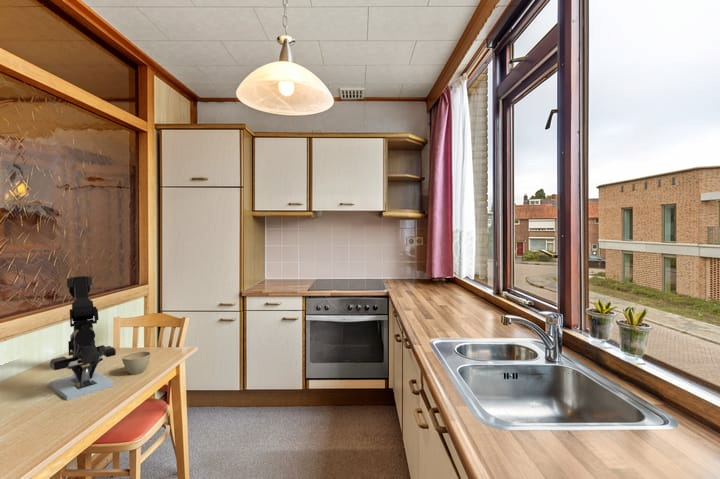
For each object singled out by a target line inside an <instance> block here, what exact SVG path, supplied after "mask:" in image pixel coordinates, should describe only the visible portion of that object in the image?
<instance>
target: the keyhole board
mask: <svg viewBox="0 0 720 479" xmlns="http://www.w3.org/2000/svg"><path fill="white" fill-rule="evenodd" d="M77 383H79V381H78V380H77V378H76V376H75V374H74V375H69V376H66V377H63V378H60V379H55V380H51V381H49V387H50V388H51V389H52V390H54V391H55V392H56V393H57V394H59V395H60V397H62V398H64V399H65V400H66V401H70V400H72V399H76V398H80V397H82V396H86V395H89V394H92V393H96V392H99V391H102V390H105V389H107V388H112V387H114V381H113V380H111V379H110V378H108V377H106V376H104V375H103V374H101V373H99V372H97V371H96V370H95V371H94V373H93V376H92V378H91V379H90V386H88V387H84V388H81V389H80V388H77Z"/></svg>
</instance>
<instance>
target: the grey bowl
mask: <svg viewBox="0 0 720 479" xmlns="http://www.w3.org/2000/svg"><path fill="white" fill-rule="evenodd" d="M150 359H151V351H145V350H143V351H134V352H129V353H127V354H124V355H123V356H122V357H121V360H122V363H123V366H124V368H125V370H126V371H127V372H128V373H129V374H130V375H140V374H142V373H144V372H145V370H146V369H147V367H148V365H149V362H150Z"/></svg>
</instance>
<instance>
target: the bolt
mask: <svg viewBox="0 0 720 479" xmlns="http://www.w3.org/2000/svg"><path fill="white" fill-rule="evenodd" d="M78 364H79V365H80V376H81V382H79V389H81V388H84V387H88V386H91V384H90V365H91V362H89V363H87V364H84V363H83V362H80V363H78Z"/></svg>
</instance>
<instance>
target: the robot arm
mask: <svg viewBox="0 0 720 479" xmlns="http://www.w3.org/2000/svg"><path fill="white" fill-rule="evenodd" d="M69 277H70V278H66V289H68V293H69V295H71V297H72V298H73V302H72V303H71V309H70V308H69V326H70V328H73V331H72V333H71V334H70V336H69V337H70V340H69V341H67V342H68V343H67V344H68V356H69V357H68V358H67V357H66V356H60V357H55V358H52V359H51V360H50V361H49V368H51V369H52V370H53V371H60V370H62V369H66V368H68V369H70V370H72V372H73V374H74V375H75V376H76V378H77V380H78V383H80V382H81V376H80V365H79V364H78V363H80V362H83V363H84V364H87V363H89V362H91V365H90V379H91V378H92V376H93V373H94V371H96V368H97V366H98V364H99V363H100V362H102V361H103V360H104V358H103V356H104V357H106V358H110V357H114V356H116V355H117V350H116V348H114V347H112V346H110V345H107V346H105V345H104V344H103V345H98V346H96V340H95V338H96V333H95V329H94V324H98V321H99V311H98V308H97V306H94V301H93V300H91V299H89V294H90V292H91V287H93V276H89V275H77V276H69ZM70 356H72V357H70Z"/></svg>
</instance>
